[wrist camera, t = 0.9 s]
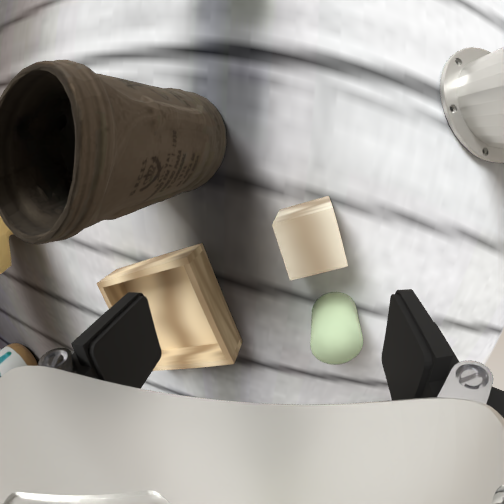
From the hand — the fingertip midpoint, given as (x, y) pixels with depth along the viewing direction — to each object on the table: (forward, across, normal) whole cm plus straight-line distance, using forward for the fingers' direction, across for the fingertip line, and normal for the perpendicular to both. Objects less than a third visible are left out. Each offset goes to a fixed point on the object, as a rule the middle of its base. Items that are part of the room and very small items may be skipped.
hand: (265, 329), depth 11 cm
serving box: (+20, +14, +10) cm, 27 cm away
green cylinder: (+20, -4, +11) cm, 23 cm away
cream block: (+20, -2, +1) cm, 20 cm away
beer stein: (+20, +13, -10) cm, 26 cm away
